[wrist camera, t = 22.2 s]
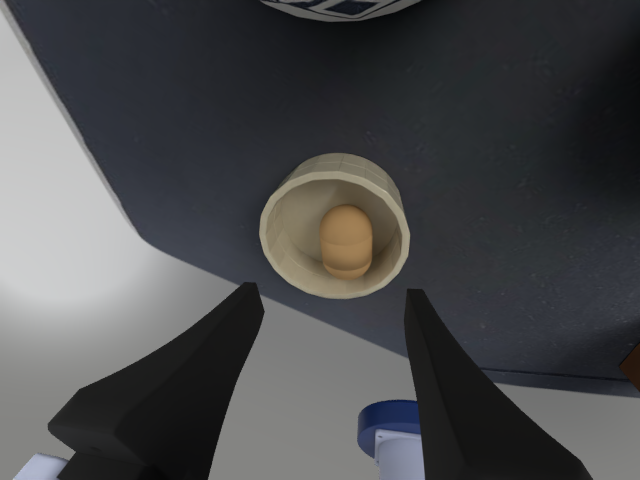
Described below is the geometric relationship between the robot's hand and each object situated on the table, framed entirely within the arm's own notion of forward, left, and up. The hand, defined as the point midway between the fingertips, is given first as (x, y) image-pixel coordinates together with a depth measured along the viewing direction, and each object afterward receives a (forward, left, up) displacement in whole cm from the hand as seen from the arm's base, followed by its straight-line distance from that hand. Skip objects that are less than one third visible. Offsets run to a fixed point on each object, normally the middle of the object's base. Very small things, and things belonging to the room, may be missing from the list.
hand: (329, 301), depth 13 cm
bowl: (+1, 0, -7) cm, 7 cm away
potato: (0, 0, -6) cm, 6 cm away
